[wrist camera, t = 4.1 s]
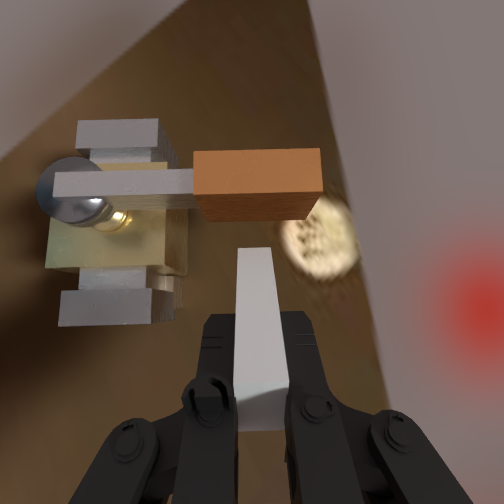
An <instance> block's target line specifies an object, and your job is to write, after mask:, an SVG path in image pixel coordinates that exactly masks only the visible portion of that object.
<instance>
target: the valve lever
mask: <svg viewBox="0 0 504 504" xmlns="http://www.w3.org/2000/svg"><path fill="white" fill-rule="evenodd" d="M322 192H323V184H322V172H321V160H320V148H309V149H269V150H229V151H194V169H164V170H125V171H103V170H101V169H100V168H99V167H98V166H97V165H96V164H95V163H94V162H92V161H90V160H88V159H86V158H83V157H66V158H63V159H60V160H58V161H56V162H54V163H52V164H51V165H50V166H48V167H47V168H46V169H45V170H44V172H43V173H42V174H41V176H40V178H39V180H38V183H37V187H36V198H37V202H38V204H39V206H40V208H41V209H42V210H43V212H45V213H46V214H47V215H48V216H50V217H52V218H54V219H56V220H59V221H61V222H63V223H65V224H68V225H70V226H73V227H78V228H86V227H91V226H94V225H96V224H98V223H103V222H106V221H108V220H110V219H111V218H112V217H113V216H114V214H115V212H116V211H121V210H158V209H195V208H200V209H201V211H202V213H203V215H204V216H205V218H206V220H207V222H239V221H276V220H305V219H306V218H307V216H308V214H309V213H310V211H311V210H312V208H313V207H314V205H315V203H316V202H317V200H318V199H319V197H320V195H321V194H322Z"/></svg>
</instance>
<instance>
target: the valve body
mask: <svg viewBox="0 0 504 504" xmlns="http://www.w3.org/2000/svg"><path fill="white" fill-rule="evenodd" d="M75 149H76V150H78V151H79V152H80V153H81V154H82V155H83V156H84V157H85V158H86V159H88V160H90V161H92V162H94V163H95V164H96V165H97V166H98V167H99V168H100V169H101V170H103V171H125V170H164V169H178V158H177V156H176V154H175V152H174V150H173V148H172V146H171V144H170V141H169V139H168V137H167V135H166V133H165V131H164V129H163V127H162V125H161V123H160V121H159V119H122V120H80V121H78V127H77V137H76V147H75ZM45 268H48V269H54V270H59V271H64V272H70V273H75V274H80V276H79V288H78V290H72V291H61V301H60V311H59V322H58V327H59V326H92V325H125V324H152V323H158V322H163V321H169V320H175V309H178V308H183V279H180V278H178V277H175V276H187V269H188V209H158V210H121V211H116V212H115V214H114V216H113V217H112V218H111V219H110V220H108V221H106V222H103V223H98V224H96V225H94V226H91V227H86V228H78V227H73V226H70V225H68V224H65V223H63V222H61V221H59V220H56V219H54V218H52V217H51V219H50V228H49V237H48V246H47V255H46V264H45Z"/></svg>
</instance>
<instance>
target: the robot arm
mask: <svg viewBox="0 0 504 504" xmlns="http://www.w3.org/2000/svg"><path fill="white" fill-rule="evenodd" d="M181 399H182V402H183V405H184V407H183V408H182V409H180V410H179V411H178V412H176V413H174V414H172V415H170V416H167V417H165V418H162V419H159V420H157V421H154V422H151V423H150V422H149V421H147V420H145V419H143V418H133V419H130V420H127V421H124V422H122V423H121V424H120V425H118V426H117V427H116V428H115V429H113V431H112V432H111V433H110V434H109V436H108V437H107V438H106V440H105V441H104V443H103V445H102V447H101V448H100V450H99V452H98V453H97V455H96V457H95V459H94V460H93V462H92V464H91V465H90V467H89V469H88V471H87V472H86V474H85V476H84V478H83V479H82V481H81V483H80V484H79V486H78V488H77V490H76V491H75V493H74V495H73V496H72V498H71V500H70V502H69V503H68V504H167V501H168V498H169V495H171V494H173V496H172V502H171V504H238V456H239V453H238V431H265V430H284V428H285V434H286V450H285V462H287V470H288V479H289V489H290V499H291V504H364V503H365V504H473V502H472V501H471V499H470V498H469V496H468V495H467V494H466V492H465V491H464V490H463V488H462V487H461V485H460V484H459V483H458V481H457V480H456V478H455V477H454V475H453V474H452V473H451V471H450V470H449V468H448V467H447V466H446V464H445V463H444V461H443V460H442V458H441V457H440V456H439V454H438V453H437V451H436V450H435V448H434V447H433V446H432V444H431V443H430V441H429V440H428V439H427V437H426V436H425V434H424V433H423V432H422V430H421V429H420V428H419V426H418V425H417V424H416V423H415V422H414V421H413V420H412V419H411V418H409V417H408V416H406V415H404V414H403V413H401V412H398V411H394V410H382V411H380V412H379V413H377V414H375V416H374V415H371V414H368V413H365V412H361V411H358V410H355V409H352V408H350V407H347V406H345V405H344V404H342V403H341V402H339V401H338V400H337V399H336V398H335V397H334V396H333V394H332V393H331V391H330V390H329V387H328V385H327V382H326V378H325V374H324V370H323V366H322V362H321V358H320V354H319V350H318V347H317V343H316V339H315V336H314V331H313V327H312V323H311V321H310V319H309V318H308V317H307V315H306V314H305V313H304V312H303V311H285V312H279V305H278V297H277V290H276V283H275V276H274V269H273V261H272V254H271V247H270V248H238V264H237V292H236V314H211V315H210V317H209V318H208V320H207V321H206V323H205V324H204V329H203V335H202V342H201V350H200V355H199V361H198V368H197V374H196V378H195V379H193V380H191V382H190V383H189V384H188V385H187V386H186V387H185V389H184V392H183V394H182V397H181Z"/></svg>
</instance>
